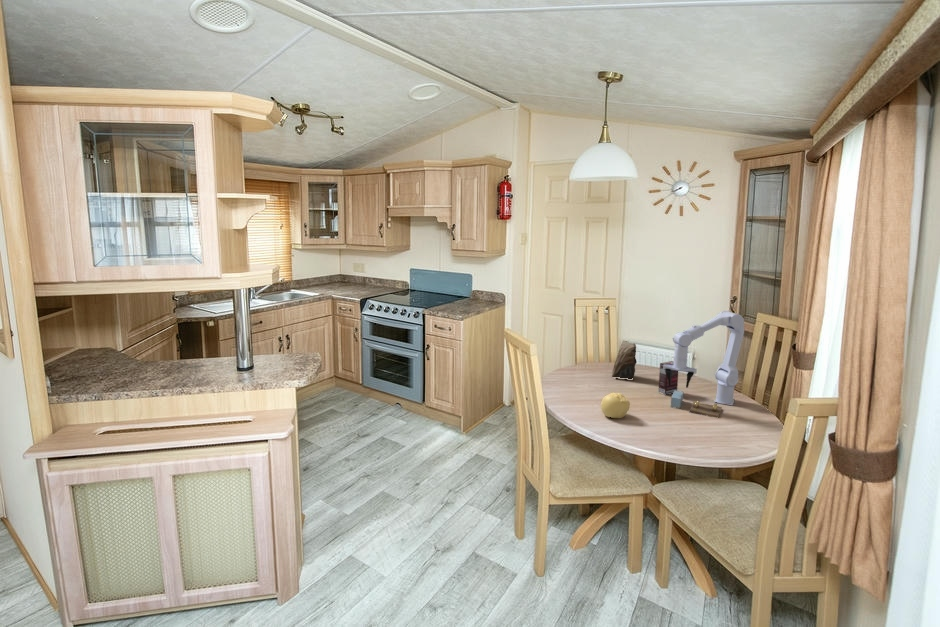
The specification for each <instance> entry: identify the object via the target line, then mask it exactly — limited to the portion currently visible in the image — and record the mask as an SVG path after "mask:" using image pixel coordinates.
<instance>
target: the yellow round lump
mask: <svg viewBox="0 0 940 627" xmlns="http://www.w3.org/2000/svg"><path fill="white" fill-rule="evenodd" d="M600 407H601V412H602V413H603V415H604V416H605V417H607V418H610V417H611V418H612V419H622V418H624V417H625V416H626V415H627V413H628V411H629V410H630V408H631V403H630V400H629V399H627V397H626V396H625V395H623V394H622V393H621V392H620V393H619V392H611V393H609V394H607V395H605V396H604V397H603V398H602V400H601V403H600Z"/></svg>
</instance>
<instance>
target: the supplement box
mask: <svg viewBox="0 0 940 627" xmlns="http://www.w3.org/2000/svg"><path fill="white" fill-rule="evenodd" d="M664 364H665V365H674V360H670V361H664V362H660V363H659V376H658V377H659V378H658V392H661V393H663V394H665V395H664V396H667V395H666V394H669V395H672V394H671V393H673V392H674V390H675V391H678V385H679V384H678V383H679V371H675V370H672V376H671V385H669V382H668V378H667V375H666V373H665V370H666V369H663V365H664ZM663 394H662V395H663Z"/></svg>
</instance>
